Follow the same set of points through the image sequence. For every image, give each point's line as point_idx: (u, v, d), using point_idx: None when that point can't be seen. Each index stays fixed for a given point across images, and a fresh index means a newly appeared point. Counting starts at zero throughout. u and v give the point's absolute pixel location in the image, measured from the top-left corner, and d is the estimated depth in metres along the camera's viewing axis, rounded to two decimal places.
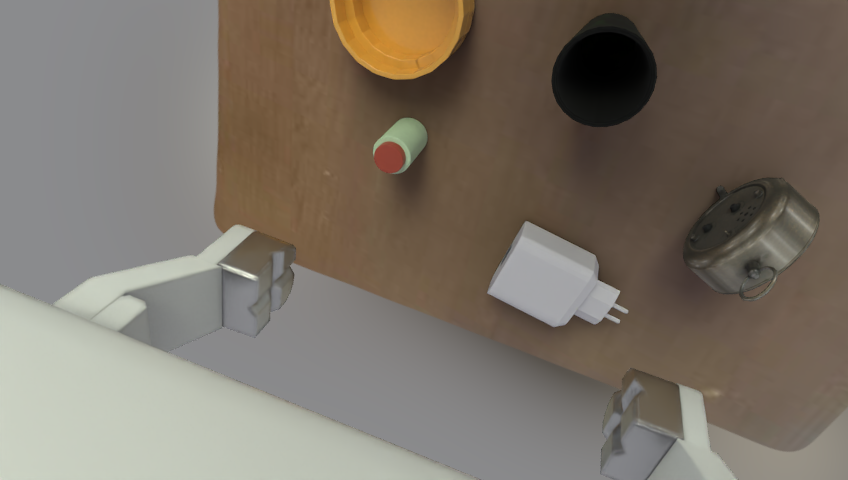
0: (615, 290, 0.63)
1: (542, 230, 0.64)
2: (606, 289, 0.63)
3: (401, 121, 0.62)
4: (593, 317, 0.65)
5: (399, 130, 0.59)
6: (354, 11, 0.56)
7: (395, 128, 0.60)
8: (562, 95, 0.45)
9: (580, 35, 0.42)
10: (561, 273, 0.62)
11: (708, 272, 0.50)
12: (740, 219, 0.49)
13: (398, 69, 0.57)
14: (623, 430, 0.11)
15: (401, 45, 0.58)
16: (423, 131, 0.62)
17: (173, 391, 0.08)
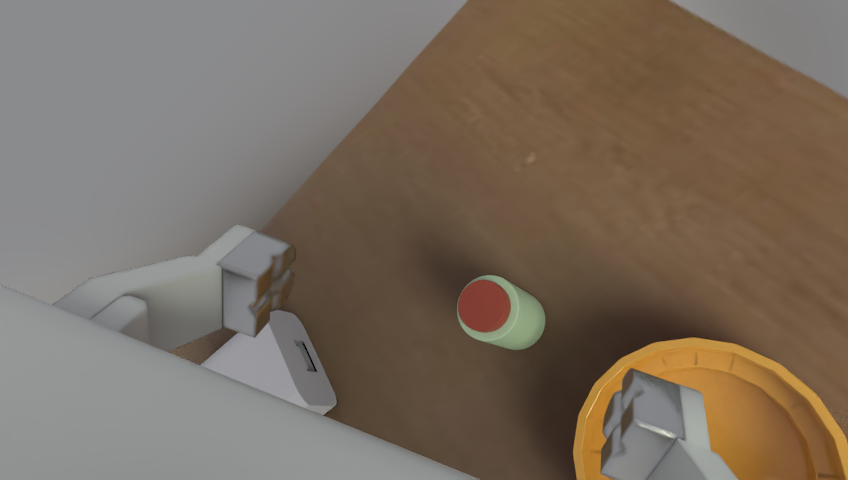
0: None
1: None
2: None
3: (538, 328, 0.39)
4: None
5: (521, 332, 0.36)
6: (739, 377, 0.31)
7: (527, 325, 0.37)
8: None
9: None
10: None
11: None
12: None
13: (609, 388, 0.34)
14: (623, 430, 0.11)
15: None
16: (509, 348, 0.40)
17: (173, 391, 0.08)
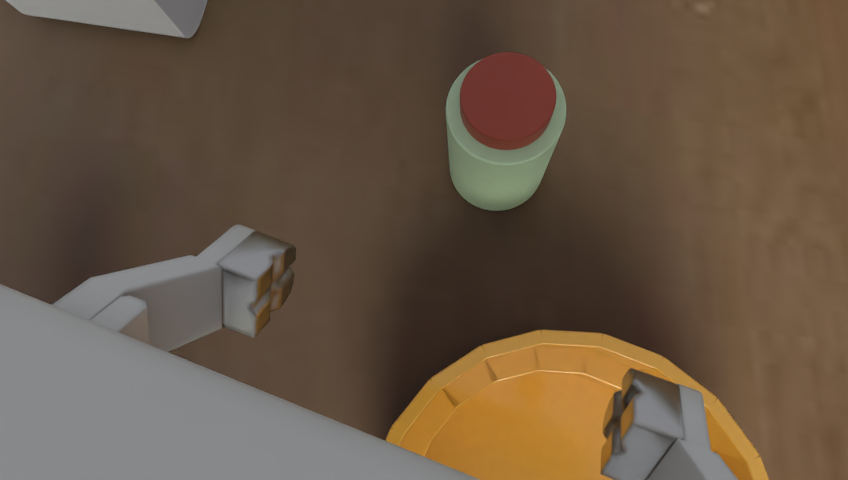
0: None
1: (142, 28, 0.27)
2: None
3: (517, 199, 0.24)
4: None
5: (506, 182, 0.21)
6: None
7: (520, 183, 0.22)
8: None
9: None
10: None
11: None
12: None
13: (539, 346, 0.21)
14: (623, 430, 0.11)
15: (552, 390, 0.23)
16: (458, 187, 0.25)
17: (173, 391, 0.08)
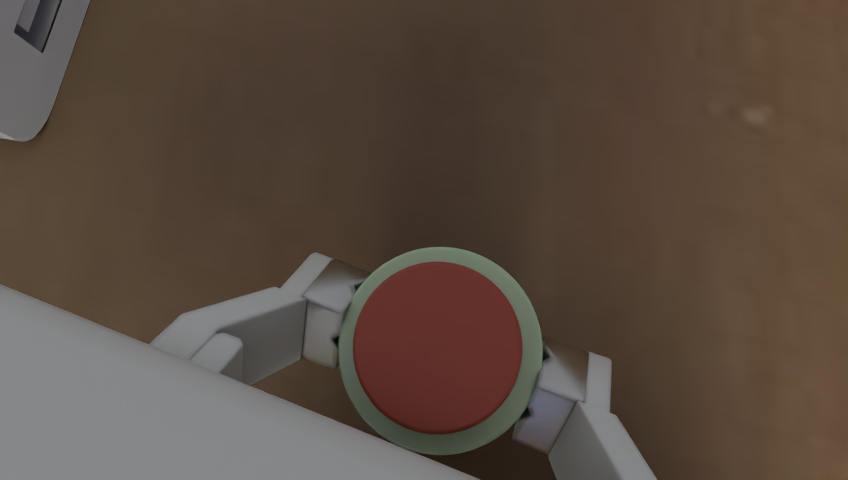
0: None
1: None
2: None
3: None
4: None
5: None
6: None
7: None
8: None
9: None
10: None
11: None
12: None
13: None
14: None
15: None
16: None
17: (173, 391, 0.08)
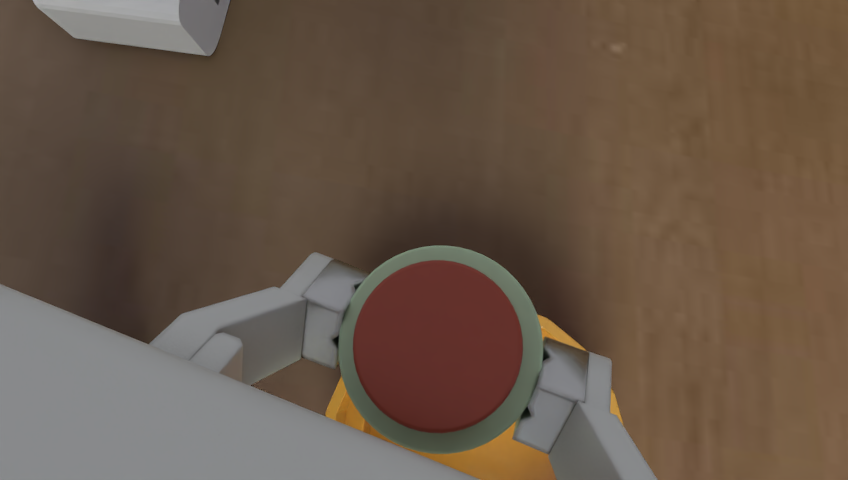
0: None
1: (171, 48, 0.34)
2: None
3: None
4: None
5: None
6: None
7: None
8: None
9: None
10: None
11: None
12: None
13: None
14: None
15: None
16: None
17: (173, 391, 0.08)
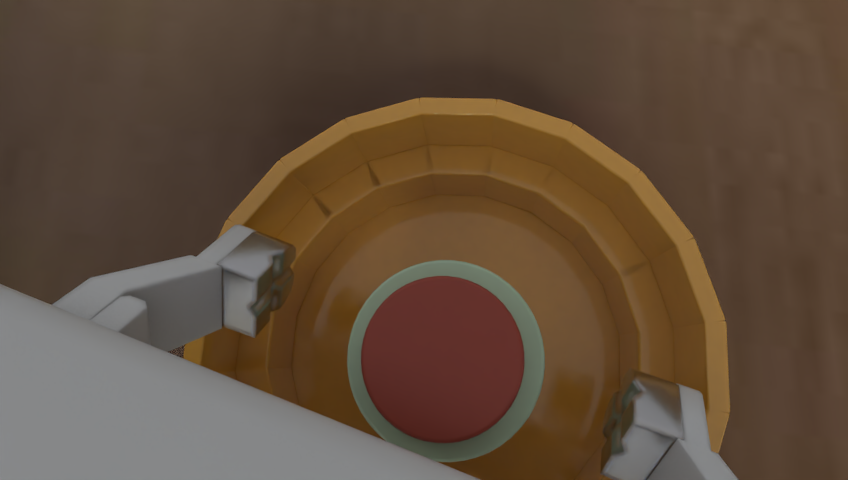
0: None
1: None
2: None
3: None
4: None
5: None
6: (624, 293, 0.16)
7: None
8: None
9: None
10: None
11: None
12: None
13: (431, 140, 0.17)
14: (623, 430, 0.11)
15: (461, 216, 0.19)
16: None
17: (173, 391, 0.08)
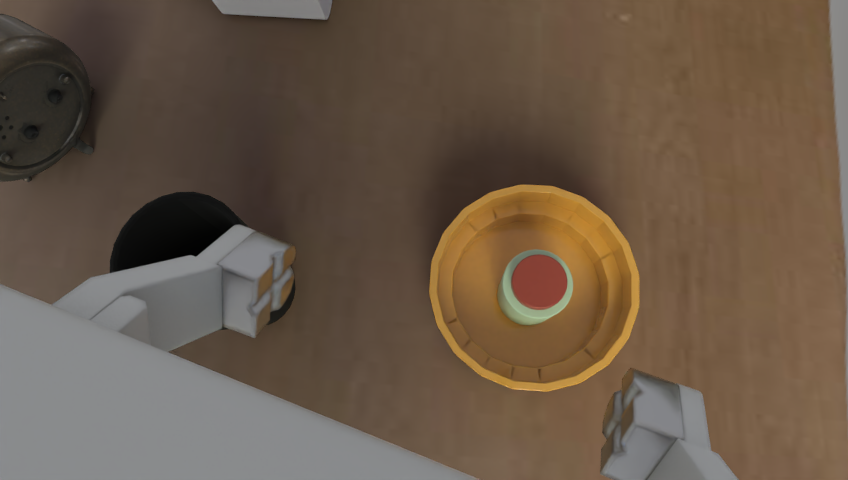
0: None
1: (299, 15, 0.45)
2: None
3: (541, 322, 0.38)
4: None
5: (535, 321, 0.35)
6: (602, 265, 0.38)
7: (543, 320, 0.36)
8: None
9: None
10: None
11: (2, 35, 0.36)
12: (3, 118, 0.37)
13: (521, 199, 0.39)
14: (623, 430, 0.11)
15: (529, 231, 0.41)
16: (503, 311, 0.39)
17: (173, 391, 0.08)
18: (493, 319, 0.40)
